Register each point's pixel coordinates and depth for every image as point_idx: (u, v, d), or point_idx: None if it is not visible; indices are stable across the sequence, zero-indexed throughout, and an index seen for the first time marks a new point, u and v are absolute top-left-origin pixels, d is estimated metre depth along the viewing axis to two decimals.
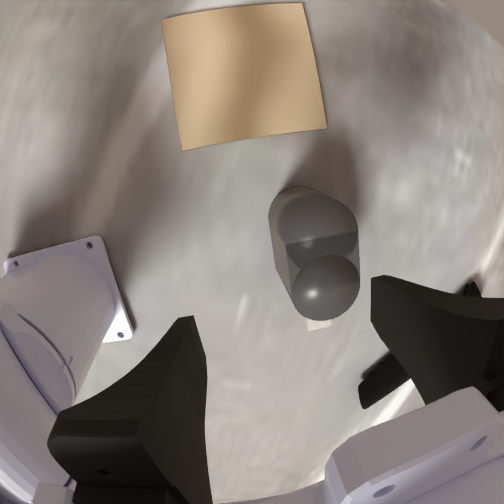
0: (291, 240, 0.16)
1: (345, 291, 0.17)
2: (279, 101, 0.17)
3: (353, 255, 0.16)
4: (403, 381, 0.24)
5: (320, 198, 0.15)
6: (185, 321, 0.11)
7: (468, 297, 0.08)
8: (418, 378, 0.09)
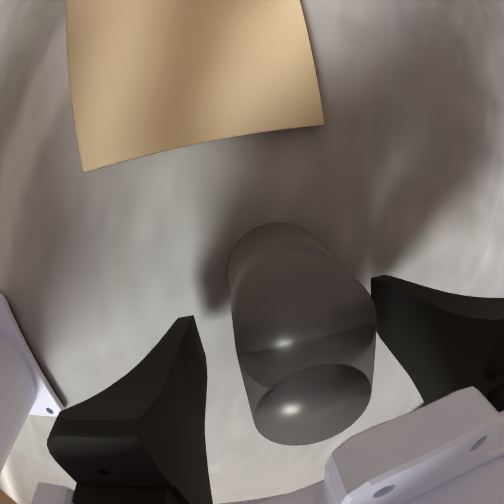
0: (248, 348, 0.08)
1: (345, 408, 0.09)
2: (240, 79, 0.10)
3: (364, 360, 0.09)
4: None
5: (307, 270, 0.08)
6: (185, 321, 0.11)
7: (468, 297, 0.08)
8: (418, 378, 0.09)
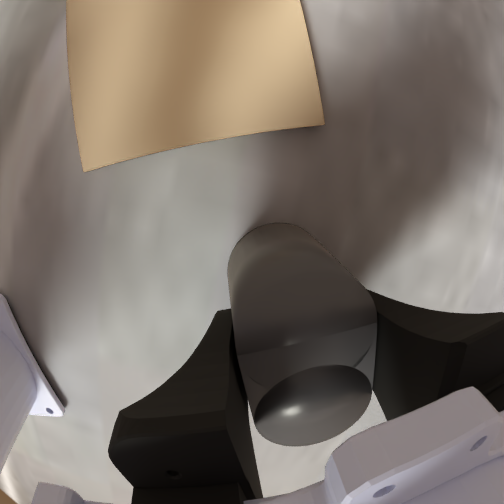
0: (249, 349, 0.08)
1: (346, 409, 0.09)
2: (240, 79, 0.10)
3: (365, 361, 0.09)
4: None
5: (307, 270, 0.08)
6: (227, 314, 0.11)
7: (431, 311, 0.08)
8: (380, 393, 0.09)
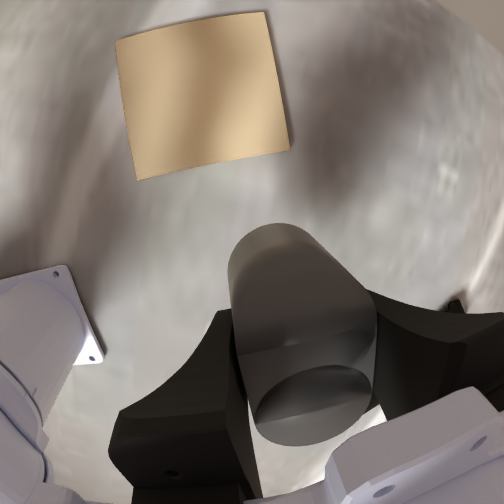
0: (249, 349, 0.08)
1: (346, 409, 0.09)
2: (237, 123, 0.17)
3: (364, 361, 0.09)
4: (377, 403, 0.23)
5: (307, 271, 0.08)
6: (227, 314, 0.11)
7: (431, 311, 0.08)
8: (380, 393, 0.09)
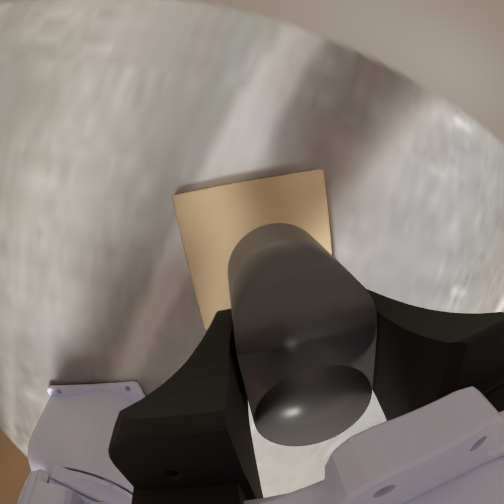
0: (249, 348, 0.08)
1: (346, 409, 0.09)
2: None
3: (364, 361, 0.09)
4: None
5: (307, 270, 0.08)
6: (227, 314, 0.11)
7: (431, 311, 0.08)
8: (380, 393, 0.09)
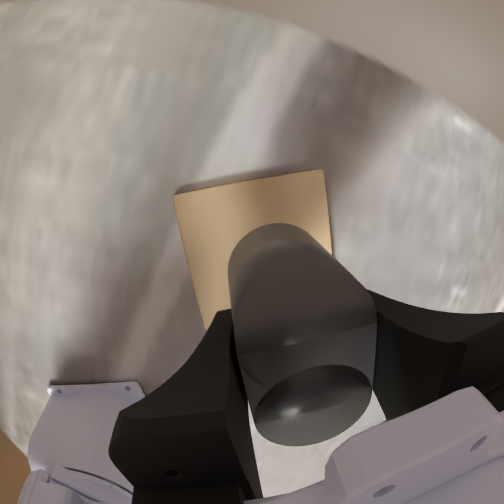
0: (249, 348, 0.08)
1: (346, 409, 0.09)
2: None
3: (364, 361, 0.09)
4: None
5: (307, 270, 0.08)
6: (227, 314, 0.11)
7: (431, 311, 0.08)
8: (380, 393, 0.09)
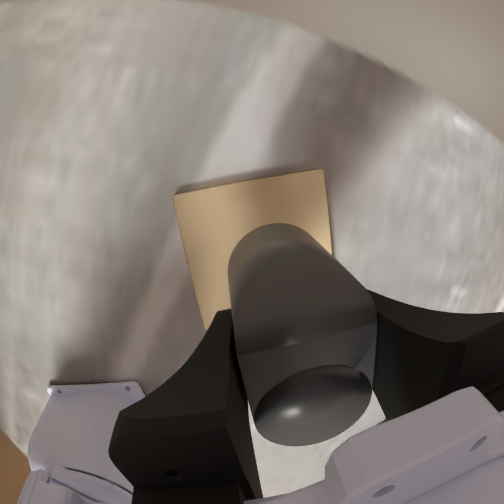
0: (249, 348, 0.08)
1: (346, 409, 0.09)
2: None
3: (364, 361, 0.09)
4: None
5: (307, 270, 0.08)
6: (227, 314, 0.11)
7: (431, 311, 0.08)
8: (380, 393, 0.09)
